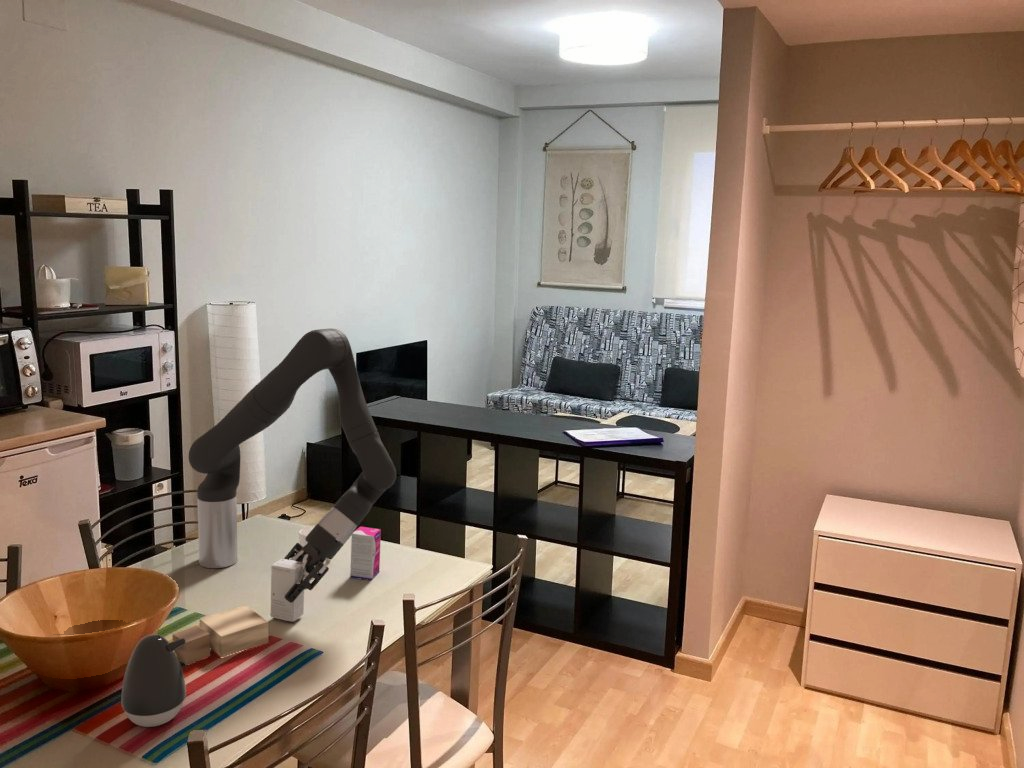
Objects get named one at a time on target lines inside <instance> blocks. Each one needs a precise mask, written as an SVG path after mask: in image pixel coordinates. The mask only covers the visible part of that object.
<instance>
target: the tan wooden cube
mask: <svg viewBox="0 0 1024 768" xmlns="http://www.w3.org/2000/svg"><path fill="white" fill-rule="evenodd" d="M171 637H172V642H173V641H176V640H179V639H182V638H184V639H185V641H186V643H185V644H184V645H182V646H180V647H178V648H176V649H174V650H175V652H176V654H177V656H178V659H179V660H181V661H182V662H183V663H185V664H187V665H188V664H191V663H193V662H196V661H198V660H201V659H203V658H206V657H208V656H210V657H211V649H210V634H209V633H208V632H206V631H204V630H203V629H201V628H200V626H198V625H193V626H192V627H188V628H185V629H183V630H180V631H178V632H174V633H172V635H171ZM206 659H207V658H206ZM201 661H202V660H201ZM183 663H182V664H183ZM196 663H197V662H196ZM191 665H192V664H191Z"/></svg>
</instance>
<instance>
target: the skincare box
mask: <svg viewBox="0 0 1024 768" xmlns="http://www.w3.org/2000/svg"><path fill="white" fill-rule="evenodd" d="M301 566H302V562H297V561H294V560H290V559H289V560H287V559H284V558H280V559H279V560H277V561H276V562H274V563H273V564H272V565H271V569H270V570H271V579H270V617H271V618H275V619H278V620H282V621H288V622H295V621H297V620H298V619H299V618H301V617H302V616H303V615H304V607H305V606H304V605H305V590H303V591H302V592H301V593H300V594H299V596H298V597H297V598H296V599H295V600H294V602H292V603H290V602H289V601H287V600H286V599H285V598H284V596H285V595H286V594H287V592H288V591H289V590H290V589H291V588H292V586H293V585H294V584H295V583H296V584H297V580H298V578H299V571H300V569H301ZM304 579H305V578H304ZM304 579H303V580H304Z"/></svg>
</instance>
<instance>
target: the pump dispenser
mask: <svg viewBox="0 0 1024 768" xmlns="http://www.w3.org/2000/svg"><path fill="white" fill-rule="evenodd" d="M185 643H186V641H185V639H184V638H182V639H179V640H176V641H173V640H172V641H171V642H170V641H169V640H168V639H167V638H166V637H165V636H163V635H160V634H156V633H154V634H148V635H146V636H144V637H142V638H140V640H139V641H138V642H137V644H136V645H135V647H134V648H133V651H132V652H131V655H130V657H129V658H128V659H129V660H128V662H127V664H126V668H125V671H124V672H125V673H124V676H123V681H122V687H121V696H120V697H121V699H120V700H121V708H122V710H123V711H124V713H125V715H126V716H127V718H128V719H129V720H130V721H131V722H132V723H134V724H135V725H137V726H140V727H145V728H151V727H159V726H161V725H164V724H166V723H168V722H170V721H171V720H173V719H174V718H175V717H176V716H177V715H178V714H179V712H180V710H181V708H183V707H182V706H183V703H184V702H185V699H186V697H187V687H186V686H187V685H186V680H185V676H184V671H183V668H182V665H181V664H182V663H181V662H180V661H179V659H178V656H177V654H176V652H175V650H174V649H176V648H178V647H180V646H182V645H184V644H185Z"/></svg>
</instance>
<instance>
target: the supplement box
mask: <svg viewBox="0 0 1024 768" xmlns="http://www.w3.org/2000/svg"><path fill="white" fill-rule="evenodd" d="M381 532H382V530H381V528H374V527H366V526H358V528H356V529H355V530H354V532H353V534H352V535H351V539H350V540H351V541H350V542H351V545H350V573H349V574H350V575H349V578H350V577H351V578H350V579H356V578H361V579H360V580H364V579H368V580H367V581H372V580H373V579H374V578H375V576H377V575H378V574H379V573H380V565H381V563H380V562H381V559H380V558H381V541H382V539H381V535H382V533H381Z"/></svg>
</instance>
